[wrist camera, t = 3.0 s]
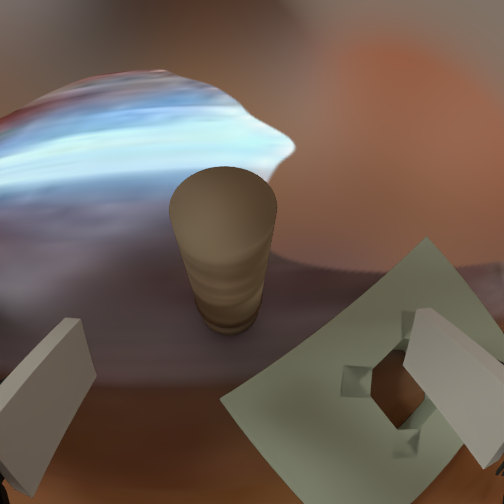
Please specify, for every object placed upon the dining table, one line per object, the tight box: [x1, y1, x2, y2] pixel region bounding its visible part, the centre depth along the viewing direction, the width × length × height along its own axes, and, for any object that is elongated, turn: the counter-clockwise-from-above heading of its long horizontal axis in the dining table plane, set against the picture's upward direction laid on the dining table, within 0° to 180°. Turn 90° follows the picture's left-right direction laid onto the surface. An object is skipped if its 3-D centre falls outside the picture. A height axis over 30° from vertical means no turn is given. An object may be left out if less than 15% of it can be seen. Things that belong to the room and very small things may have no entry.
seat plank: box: [220, 236, 504, 504], centre depth 17 cm, size 20×14×3 cm
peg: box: [169, 166, 277, 335], centre depth 16 cm, size 4×4×12 cm
